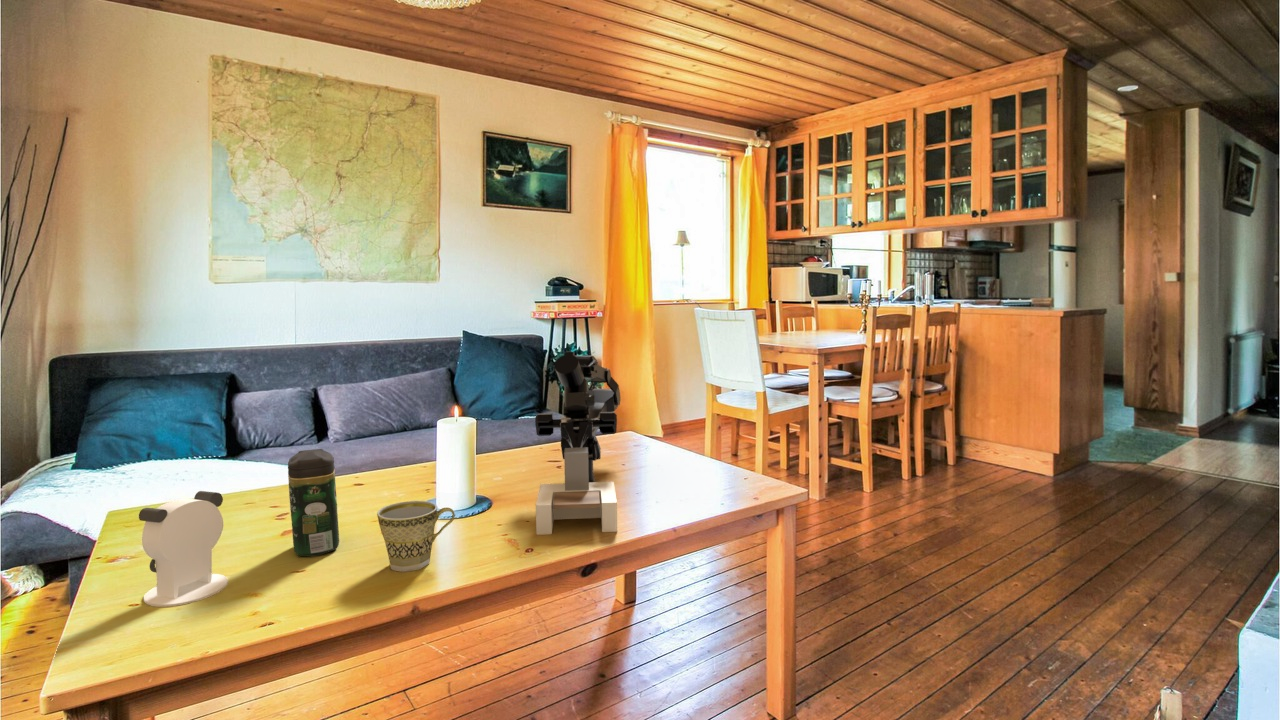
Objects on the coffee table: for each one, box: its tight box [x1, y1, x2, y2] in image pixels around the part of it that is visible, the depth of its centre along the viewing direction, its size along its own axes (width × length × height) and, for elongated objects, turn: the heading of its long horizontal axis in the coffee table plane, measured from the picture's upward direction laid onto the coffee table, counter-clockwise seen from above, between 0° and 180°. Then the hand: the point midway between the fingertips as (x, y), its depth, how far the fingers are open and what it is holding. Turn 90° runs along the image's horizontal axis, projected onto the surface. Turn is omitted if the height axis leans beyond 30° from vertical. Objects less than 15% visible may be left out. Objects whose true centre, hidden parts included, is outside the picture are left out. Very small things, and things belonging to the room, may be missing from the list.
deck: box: [535, 481, 618, 536], centre depth 139 cm, size 14×16×6 cm
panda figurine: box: [138, 490, 229, 608], centre depth 108 cm, size 12×11×15 cm
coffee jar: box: [287, 448, 340, 557], centre depth 125 cm, size 10×8×19 cm
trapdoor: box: [553, 491, 600, 509], centre depth 136 cm, size 9×9×1 cm
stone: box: [563, 447, 589, 491], centre depth 143 cm, size 5×5×8 cm
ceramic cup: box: [376, 500, 456, 573], centre depth 118 cm, size 13×10×10 cm
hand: (576, 455), depth 150 cm, fingers closed
